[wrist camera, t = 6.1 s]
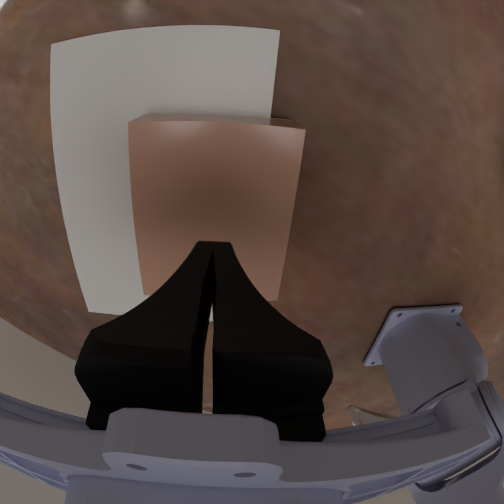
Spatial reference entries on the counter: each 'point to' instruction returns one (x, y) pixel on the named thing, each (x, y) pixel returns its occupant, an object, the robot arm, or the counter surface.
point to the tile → (213, 191)
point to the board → (127, 109)
